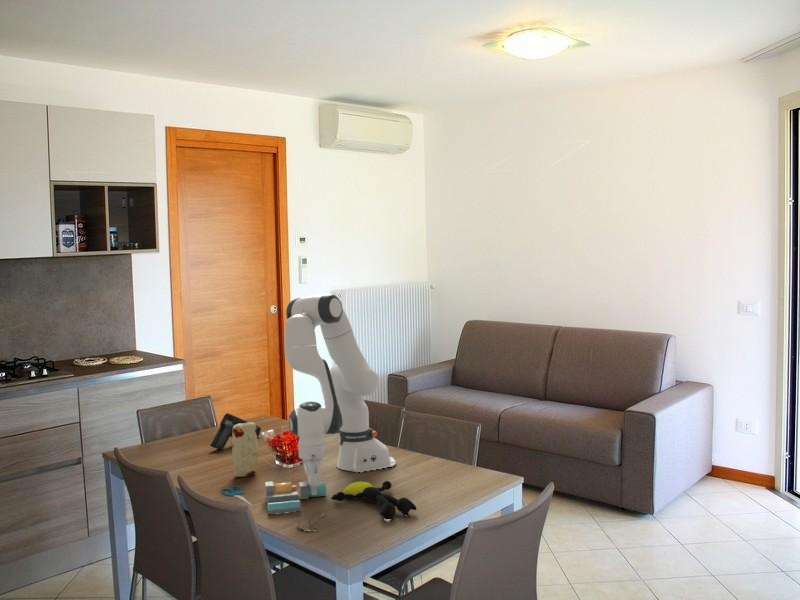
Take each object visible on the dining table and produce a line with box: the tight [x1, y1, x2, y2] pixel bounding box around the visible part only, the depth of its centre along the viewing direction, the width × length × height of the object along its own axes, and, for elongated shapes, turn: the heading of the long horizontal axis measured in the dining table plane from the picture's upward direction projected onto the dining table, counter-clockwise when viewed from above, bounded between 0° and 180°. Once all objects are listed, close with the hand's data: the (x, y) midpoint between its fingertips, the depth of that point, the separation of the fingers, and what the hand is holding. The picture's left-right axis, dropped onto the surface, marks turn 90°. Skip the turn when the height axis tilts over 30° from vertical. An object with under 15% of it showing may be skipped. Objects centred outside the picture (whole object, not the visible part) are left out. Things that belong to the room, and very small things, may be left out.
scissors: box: [220, 486, 253, 506], centre depth 240 cm, size 7×1×20 cm
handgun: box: [209, 412, 262, 450], centre depth 305 cm, size 2×24×15 cm, turn 148°
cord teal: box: [298, 481, 327, 500], centre depth 238 cm, size 8×4×5 cm, turn 104°
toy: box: [330, 480, 417, 520], centre depth 230 cm, size 23×6×30 cm
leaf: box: [295, 511, 325, 533], centre depth 216 cm, size 11×15×2 cm
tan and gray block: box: [264, 481, 293, 501], centre depth 235 cm, size 8×4×5 cm, turn 103°
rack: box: [265, 485, 301, 515], centre depth 231 cm, size 10×15×4 cm, turn 14°
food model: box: [231, 421, 259, 478], centre depth 261 cm, size 10×7×20 cm
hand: (312, 491), depth 238 cm, fingers closed on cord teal, 4 cm apart
